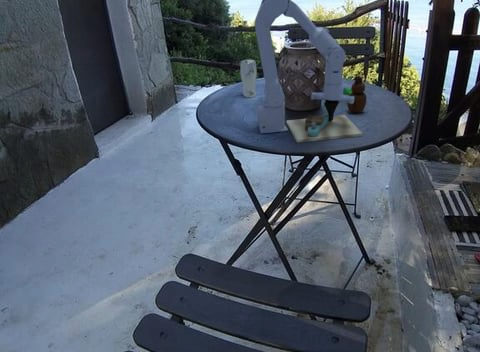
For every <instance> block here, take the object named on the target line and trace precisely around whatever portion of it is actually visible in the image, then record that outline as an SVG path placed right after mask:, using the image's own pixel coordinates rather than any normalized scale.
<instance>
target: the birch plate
mask: <svg viewBox="0 0 480 352" xmlns="http://www.w3.org/2000/svg"><path fill="white" fill-rule="evenodd" d="M305 120H306V118H301V119H300V118H299V119H289V120H285V125H286V126H287V128H288V130H289V131H290V133H291V135H292V136H293V138H294V140H295V141H296V143H306V142H307V143H308V142H316V141H317V142H318V141H327V140H337V139H347V138H357V137H359V138H360V137H363V132H362V131H361V130H360V129H359V128H358V127H357V126H356V125H355V124H354V123H353V121H352V120H350V119H349V118H348V117H347V116H346V114H342V115H334V117H333V120H332V121H329V122H328V123H327V124H326V125H325V126H324V128H323V129H322V130H321V131H320V132H319V135H318V136H309V135H308V131H307V130H305Z"/></svg>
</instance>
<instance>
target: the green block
mask: <svg viewBox="0 0 480 352" xmlns="http://www.w3.org/2000/svg"><path fill="white" fill-rule="evenodd" d="M342 91H343V92H342V94H344V95H348V96H349V95H350V94H351V93H353V92H352V91H351V89H348V88H347V87H343V90H342Z"/></svg>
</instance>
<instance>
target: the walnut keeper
mask: <svg viewBox="0 0 480 352" xmlns="http://www.w3.org/2000/svg"><path fill="white" fill-rule="evenodd" d="M322 116H323V115H321V116H320V115H308V116H307V117H306V118H305V119H306V120H305V130H307V131H308V128H309V127H311V124H312V122H315V123H316V124H322V122H323V121H324V117H322Z"/></svg>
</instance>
